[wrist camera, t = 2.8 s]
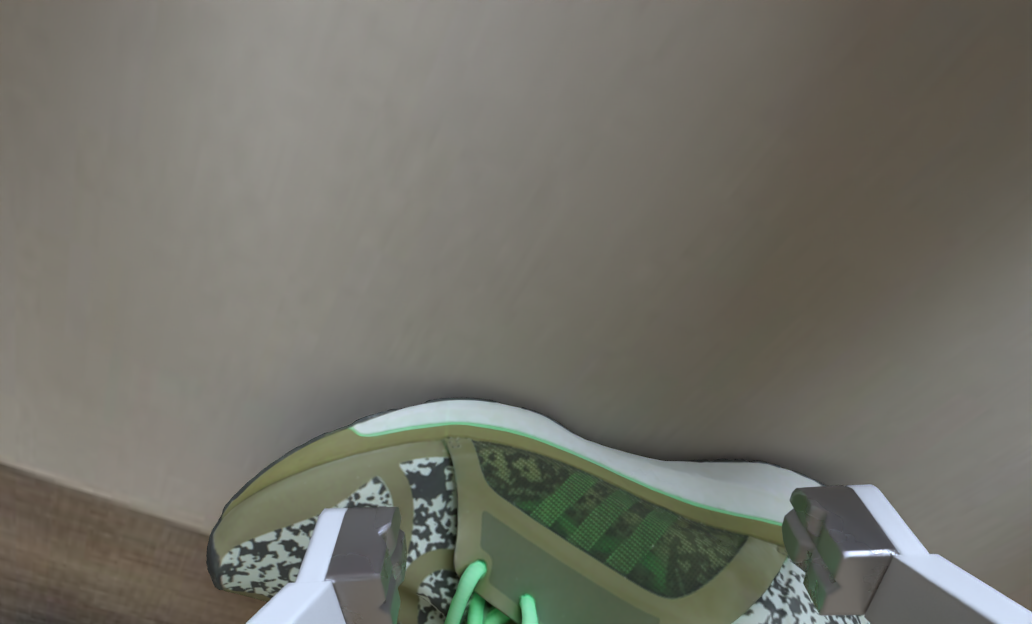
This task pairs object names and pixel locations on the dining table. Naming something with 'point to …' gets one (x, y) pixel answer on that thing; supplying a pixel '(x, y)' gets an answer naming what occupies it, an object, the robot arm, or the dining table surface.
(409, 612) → the running shoe
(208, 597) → the dining table surface
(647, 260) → the dining table surface
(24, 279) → the dining table surface
